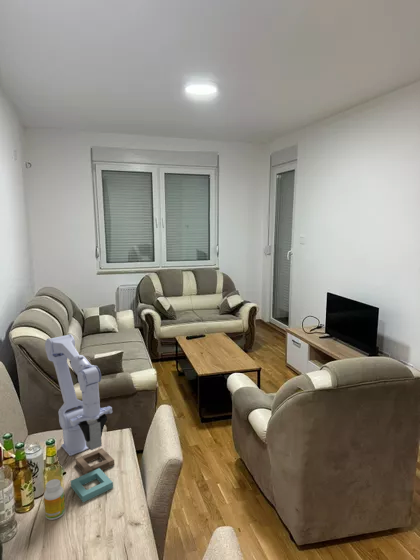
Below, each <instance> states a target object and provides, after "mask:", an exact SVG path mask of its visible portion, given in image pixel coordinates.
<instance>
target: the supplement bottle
mask: <svg viewBox="0 0 420 560" xmlns="http://www.w3.org/2000/svg"><path fill="white" fill-rule="evenodd" d="M64 492H65V491H64V488H63V486H62V485H61V480H60V479H57V478H56V479H55V478H54V479H50V480H49V481H47V482H46V483H45V491H44V493H43V501H44V514H45V515H44V516H45V518H46V519H48V520H51V521H52V520H53V521H54V520H57V519H60V518H62V516H63V515H64V514H65V512H66V507H65V506H66V505H65V493H64Z"/></svg>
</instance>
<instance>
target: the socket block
mask: <svg viewBox="0 0 420 560" xmlns="http://www.w3.org/2000/svg"><path fill="white" fill-rule="evenodd" d="M97 459H101V461H100V462H97V463H95V464H93V465H90V464H89V463H90V462H92V461H95V460H97ZM75 464H76V466H77V467H78V468H79V469H80V471H81V472H83V475H85V474H87V473H89V472H92V471H94V470H96V469H98V468H100V469H101V470H102V471H104V470H107V469H108V468H111V467H113V466H115V459H114V458H113V457H112V456H111V455H110V454H109V453H108V452H107V451H106V450H105V449H104V448H100V449H97V450H96V449H95V450H94V451H92V452H88V453H86V454H85V455H82V456H79V457H77V458H75Z"/></svg>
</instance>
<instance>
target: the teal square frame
mask: <svg viewBox="0 0 420 560" xmlns="http://www.w3.org/2000/svg"><path fill="white" fill-rule="evenodd" d="M95 480H97V481H98V482H99V484H97V485H94V486H93V487H90V488H88V489H86V488H85V487H84V485H87V484H89V483H90V482H93V481H95ZM70 487H71V489H72V490H73V492H75V495H77V497H79V499H80V500H81V502H82V503H85V502H87V501H89V500H91V499H93V498H95V497H98V496H100V495H101V494H103V493H105V492H107V491H109V490H111V489H113V488H114V482H113V481H112V480H111V478H109V476H108V475H107V474H106V473H105V472H104V470H101V469H100V468H98V469H96V470H94V471H92V472H89V473H87V474H83V475H81V476H78V477H76V478H73V479H72V480H70Z"/></svg>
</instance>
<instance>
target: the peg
mask: <svg viewBox="0 0 420 560" xmlns="http://www.w3.org/2000/svg"><path fill="white" fill-rule="evenodd" d="M87 422H88V424H89V425H90V426H89V442H87V441H86V446H87V447H88V448H89V449H88V450H90V451H93V450H96V449H98V448H100V447H102V446H103V444H102V443H103V442H102V437H101V426H100V421H98V420H97V419H96V420H93V419H92V420H88V421H87Z"/></svg>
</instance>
